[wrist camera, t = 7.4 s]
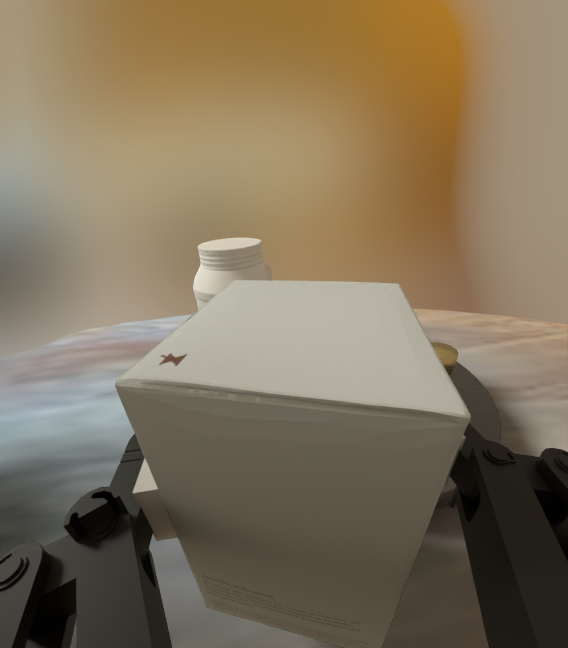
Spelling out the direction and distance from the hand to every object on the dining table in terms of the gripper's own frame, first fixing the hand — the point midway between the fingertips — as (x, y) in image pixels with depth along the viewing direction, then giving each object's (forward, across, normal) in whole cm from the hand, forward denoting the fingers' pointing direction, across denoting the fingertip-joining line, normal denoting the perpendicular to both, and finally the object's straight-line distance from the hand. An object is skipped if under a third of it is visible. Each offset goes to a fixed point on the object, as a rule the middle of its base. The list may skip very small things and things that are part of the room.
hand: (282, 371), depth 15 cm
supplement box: (-5, 0, -7) cm, 9 cm away
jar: (+25, -3, -13) cm, 28 cm away
